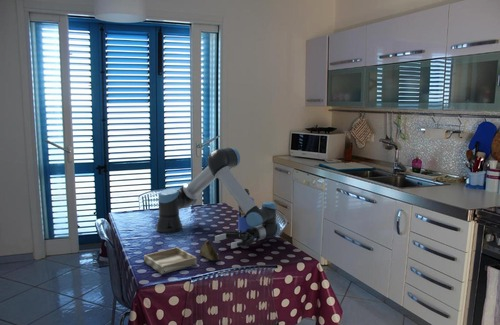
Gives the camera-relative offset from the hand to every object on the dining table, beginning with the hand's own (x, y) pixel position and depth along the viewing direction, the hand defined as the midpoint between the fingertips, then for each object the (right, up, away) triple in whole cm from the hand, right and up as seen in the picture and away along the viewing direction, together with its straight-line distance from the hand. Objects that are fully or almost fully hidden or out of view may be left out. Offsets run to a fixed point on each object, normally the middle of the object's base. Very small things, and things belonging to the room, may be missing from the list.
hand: (223, 242), depth 211 cm
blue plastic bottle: (+11, 0, +39) cm, 40 cm away
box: (-24, -8, -12) cm, 28 cm away
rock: (-7, -7, -4) cm, 10 cm away
